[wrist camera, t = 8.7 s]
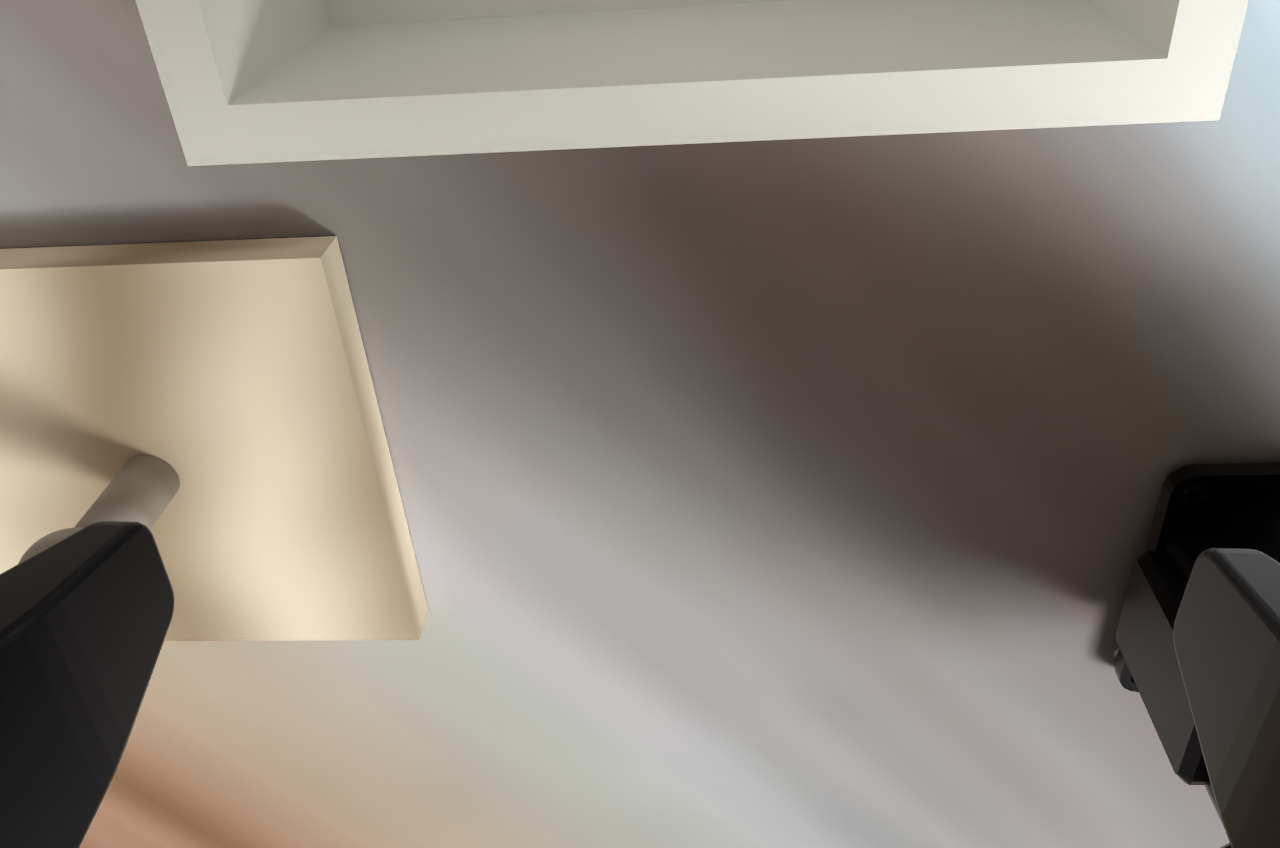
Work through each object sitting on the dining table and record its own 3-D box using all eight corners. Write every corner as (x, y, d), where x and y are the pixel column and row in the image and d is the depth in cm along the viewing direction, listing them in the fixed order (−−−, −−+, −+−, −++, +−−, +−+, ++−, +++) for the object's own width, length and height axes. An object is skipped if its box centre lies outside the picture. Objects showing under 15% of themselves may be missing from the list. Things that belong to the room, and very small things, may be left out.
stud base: (336, 235, 20) (231, 376, 16) (428, 610, 26) (369, 792, 21) (-141, 254, 21) (-368, 392, 17) (47, 613, 27) (-85, 787, 22)
